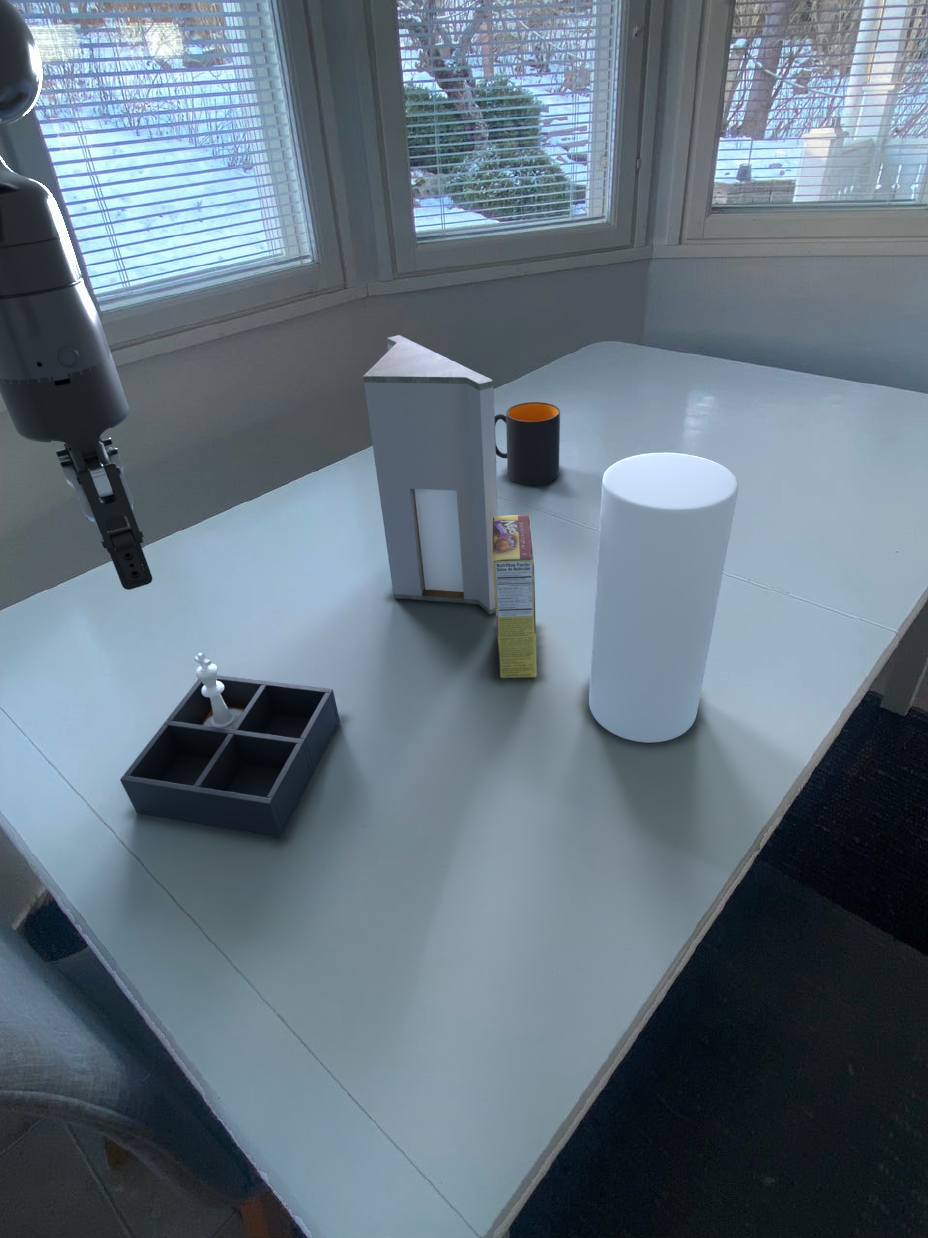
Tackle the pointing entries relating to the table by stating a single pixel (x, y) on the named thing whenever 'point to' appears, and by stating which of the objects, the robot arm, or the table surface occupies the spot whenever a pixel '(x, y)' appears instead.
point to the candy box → (514, 596)
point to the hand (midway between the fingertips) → (127, 561)
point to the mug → (532, 442)
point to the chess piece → (215, 695)
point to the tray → (235, 757)
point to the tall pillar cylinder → (657, 590)
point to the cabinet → (434, 473)
